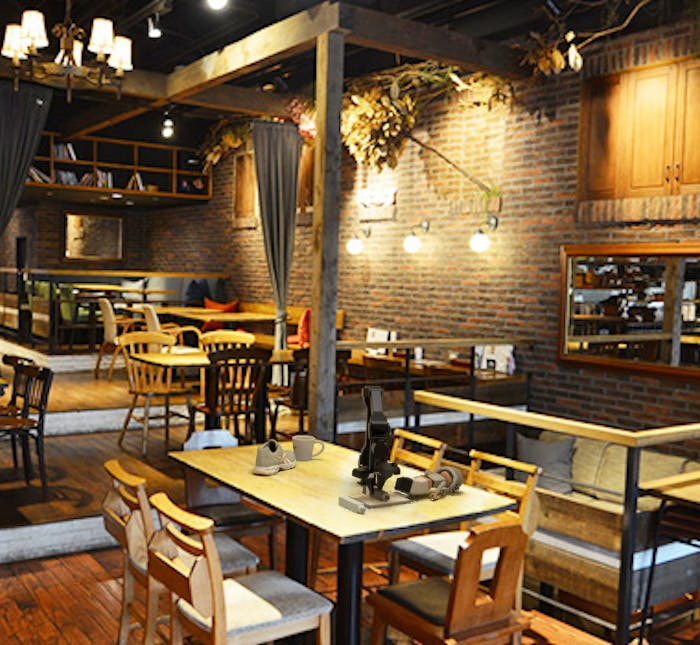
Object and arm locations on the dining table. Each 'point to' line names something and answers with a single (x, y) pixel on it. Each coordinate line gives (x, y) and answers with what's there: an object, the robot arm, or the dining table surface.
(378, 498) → the black marker
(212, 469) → the dining table surface
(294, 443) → the mug
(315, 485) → the dining table surface
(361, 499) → the whiteboard
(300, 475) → the dining table surface
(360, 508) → the pale blue marker
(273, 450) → the running shoe
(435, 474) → the toy
